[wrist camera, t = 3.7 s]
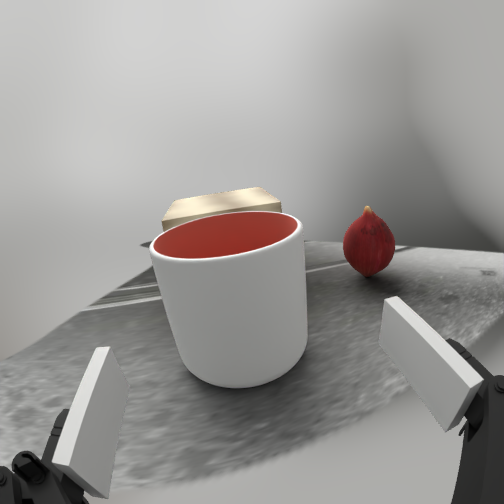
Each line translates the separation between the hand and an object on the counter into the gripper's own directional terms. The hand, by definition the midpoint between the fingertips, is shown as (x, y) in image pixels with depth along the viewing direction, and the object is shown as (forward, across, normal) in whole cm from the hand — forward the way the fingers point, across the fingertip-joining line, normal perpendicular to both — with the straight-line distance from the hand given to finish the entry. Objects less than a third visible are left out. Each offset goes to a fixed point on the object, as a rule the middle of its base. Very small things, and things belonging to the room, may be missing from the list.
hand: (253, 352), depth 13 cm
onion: (+16, +15, -7) cm, 23 cm away
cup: (+8, 0, -7) cm, 11 cm away
